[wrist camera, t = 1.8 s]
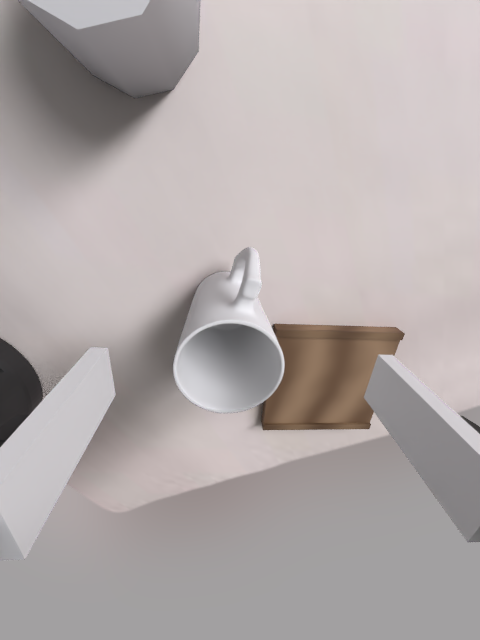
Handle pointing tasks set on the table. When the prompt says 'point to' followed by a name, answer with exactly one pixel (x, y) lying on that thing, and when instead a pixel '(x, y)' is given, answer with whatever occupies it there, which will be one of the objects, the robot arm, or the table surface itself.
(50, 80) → the table surface
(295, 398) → the wooden coaster
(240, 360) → the mug
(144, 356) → the table surface
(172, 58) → the toilet tissue
